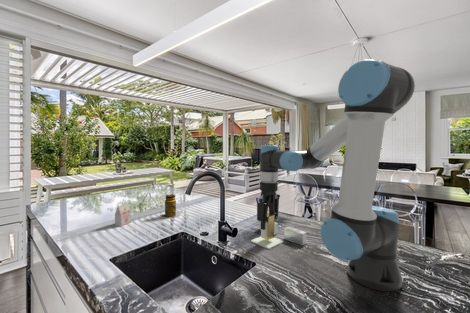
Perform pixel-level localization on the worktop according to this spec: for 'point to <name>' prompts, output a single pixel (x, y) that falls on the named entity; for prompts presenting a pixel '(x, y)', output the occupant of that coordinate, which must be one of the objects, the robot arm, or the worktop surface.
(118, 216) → the milk carton
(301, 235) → the rack rail
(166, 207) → the condiment
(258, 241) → the sage pad
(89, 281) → the worktop surface
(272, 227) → the brass block
